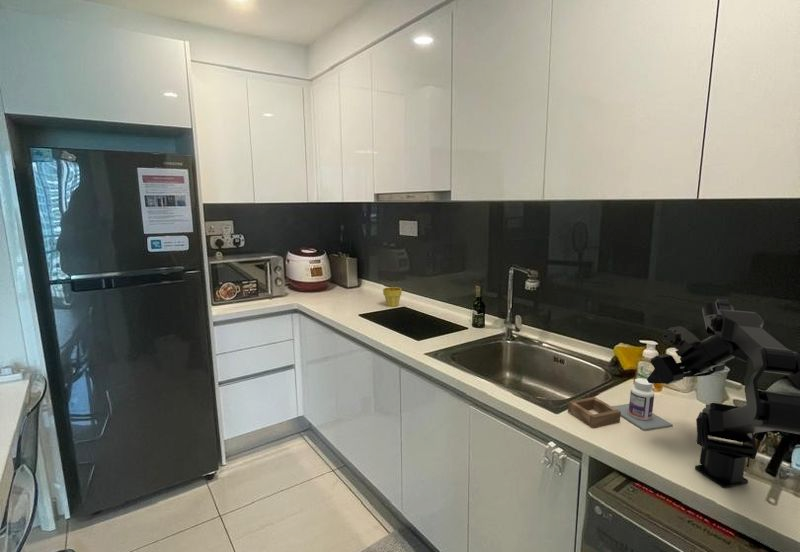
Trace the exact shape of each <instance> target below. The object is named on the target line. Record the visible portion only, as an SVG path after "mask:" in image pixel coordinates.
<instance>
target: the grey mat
mask: <svg viewBox="0 0 800 552" xmlns="http://www.w3.org/2000/svg"><path fill="white" fill-rule="evenodd" d="M611 406H612V407H613V408H615V409H617V410H619V411H621V415H620V418H623V419H624V420H626V421H627V422H629V423H631V424H632V425H634V426H635V427H637V428H639V429H640V430H642V431H643V432H646V431H647V432H648V431H652V430H660V429H664V428H670V427H671V428H672V427H674V424H673V423H672V422H669V421H668V420H666V419H664V418H662V417H661V416H659V415H657V414H655V413H653V412H652V418H651V419H649V420H640V419H637V418H634V417H632V416H631V415H630V414H629V403H625V404H618V405H611Z"/></svg>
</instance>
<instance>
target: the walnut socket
mask: <svg viewBox="0 0 800 552" xmlns="http://www.w3.org/2000/svg"><path fill="white" fill-rule="evenodd" d="M567 403H568V405H567V406H568V407H567V412H568V413H569V414H571V415H572V416H574V417H575V418H576V419H578V420H579V421H581V422H583V423H585V424H586V425H587V426H588V427H590V428H592V429H597V428H600V427H605V426H609V425H614V424H618V423H620V422H621V416H620V415H621V411H619V410H617V409H615V408H613V407H612V406H613V405H610V404H608V403H606V402H604V401H603V400H601V399H599V398H597V397H596V396H589V397H586V398H580V399H575V400H571V401H568V402H567ZM591 410H593V411H596V412H597V413H593V412H591Z"/></svg>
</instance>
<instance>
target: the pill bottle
mask: <svg viewBox="0 0 800 552" xmlns="http://www.w3.org/2000/svg"><path fill="white" fill-rule="evenodd" d="M652 388H653V383H649V382H648V381H647V378H639V377H638V378H635V379H634V385H633V386H631V387H630V395H629V403H628V404H629V414H630V415H631V416H632V417H634V418H637V419H640V420H649V419H651V418H652V413H653V411H654V409H653V408H654V399H655V392H654V390H653V389H652Z"/></svg>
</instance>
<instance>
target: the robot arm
mask: <svg viewBox="0 0 800 552" xmlns="http://www.w3.org/2000/svg"><path fill="white" fill-rule="evenodd" d="M701 311H702V315H703V316H702V317H703V322H704V324H705V330H706V333H707V334H709V335H710V336H709V337H707V338H705V339H704V340H701V339H699V338H698V337H697V335H694V333H692V332H691V331H690V330H688V329H687V328H686V327H684V326H681V325H680V326H679V325H678V326H671V327H669V328H668V329H667V330H665V331H663V332H662V339H663V341H664V342H666V343H667V344H668V345H670V346H672V347H674V348H675V349H676V350H675V354H676V355H677V356H678V357H679V360H680V361H679V362H677V361H676V359H675V358H674V357H673V355H671V354H668V353H665V354H659V355H656V356H654V357H652V358H650V363H651V365H652V366H653V368H654V369H653V370H652V372H651V373H650V374H649V375H648V376H647V378H646V379H647V381H648V382H649V383H652V384H666V385H670V384H674V383H677V382H680V381H682V380H684V378H691V377H692V378H694V377H707V376H710V375H711V376H712V375H714V374H719V373H720V372H724V371H725V368H726V367H725V366H726V364H727V362H728V361H730V360H733V359H734V358H737V359H738V360H741V361H743V362H745V363H747V362H748V361H749V359H750V360H752V364H753V370H754V371H753V374H752V375H751V377H750V378H749V380H748V381H747V383H746V384H745V386H744V395H745V402H746V405H742V406H738V405H729V404H723V403H717V402H710V403H709V404H708V403H706V404H705V407H704V408H703V409H702V411H700V412H699V413H698V415H697V417H696V418H695V422H696V423H695V425H696V445H698V446H700V447H701V449H700V451H701V452H700V456H699V457H700V458H699V465H697V464H696V465H694V469H695V470H696V471H698V472H699V473H701V474H702V475H704V476H706V477H707V478H709V479H711V480H712V481H713V482H714V483H716V484H718V485H720V487H723V488H730V487H731V488H732V487H734V486H739V485H743V484H748V483H749V480H748V479H747V478H745V477H744V475H745V474H744V472H745V467H746V461H747V459H750V460H755V459H756V457H757V454H758V450H757V444H756V439H755V433H758V434H759V433H764V432H772V431H773V432H774V431H777V432H778V431H779V432H785V433H790V434H796V435H800V395H796V394H791V393H782V392H778V391H777V392H775V391H769V390H763V389H762V390H761V389H759V387H758V380H759V379H760V378H761V376H762V375H763V374H764V372H765V373H771V374H772V373H773V374H780V375H781V374H782V375H787V376H788V378H789V380H790V381H791V382H792V383H793V384H794V385H795V387H796V388H798V390H799V391H800V354H799V353H798V352H797V351H793V350H791V349H788V348H787V347H786V346H784V344H782V343H781V342H780V341H779V340H777V339H776V338H775V337H773V336H772V335H771V334H769V332H768V331H766V330H765V329H764V320H763V319H762V318H761V316H760V315H759V314H758V313H757V312H755V311H744V310H743V311H742V310H734V306H733V305H731V304H730V303H729V299H723V298H717V299H716V301H713V302H709V303H707V304H706V305H704V306H702V309H701ZM711 437H712V438H711ZM717 438H718V439H717ZM723 439H724V440H723ZM738 442H739V443H738Z"/></svg>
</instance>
